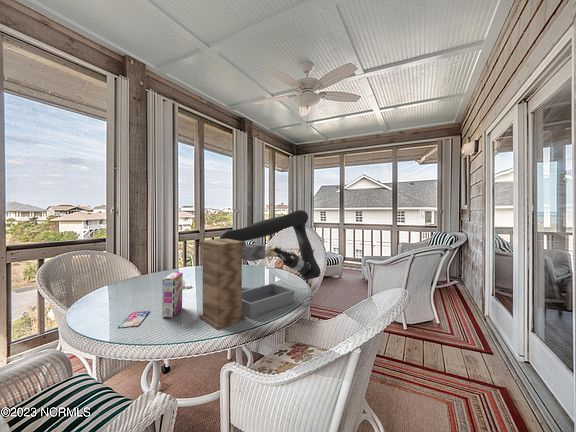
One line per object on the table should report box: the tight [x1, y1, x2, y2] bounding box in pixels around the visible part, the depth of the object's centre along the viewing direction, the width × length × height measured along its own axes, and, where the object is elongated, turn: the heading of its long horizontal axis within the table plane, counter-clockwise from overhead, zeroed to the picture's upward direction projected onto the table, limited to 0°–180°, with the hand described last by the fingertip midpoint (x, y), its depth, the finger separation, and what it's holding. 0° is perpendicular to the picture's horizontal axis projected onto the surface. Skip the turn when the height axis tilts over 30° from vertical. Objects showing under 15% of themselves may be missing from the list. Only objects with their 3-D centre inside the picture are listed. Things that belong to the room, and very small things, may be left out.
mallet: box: [242, 243, 282, 262], centre depth 122 cm, size 20×8×6 cm, turn 135°
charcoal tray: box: [242, 283, 295, 319], centre depth 123 cm, size 26×16×6 cm, turn 135°
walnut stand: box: [198, 238, 246, 330], centre depth 107 cm, size 13×14×32 cm
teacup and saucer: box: [182, 279, 193, 291], centre depth 148 cm, size 9×8×4 cm
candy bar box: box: [161, 272, 183, 319], centre depth 113 cm, size 11×5×16 cm, turn 5°
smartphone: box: [117, 310, 151, 329], centre depth 107 cm, size 8×1×15 cm
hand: (272, 248), depth 126 cm, fingers closed on mallet, 3 cm apart
